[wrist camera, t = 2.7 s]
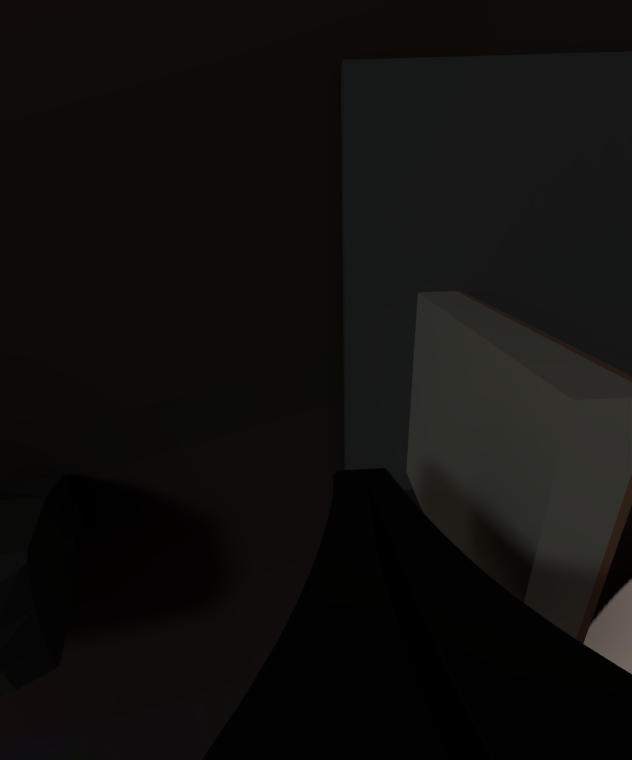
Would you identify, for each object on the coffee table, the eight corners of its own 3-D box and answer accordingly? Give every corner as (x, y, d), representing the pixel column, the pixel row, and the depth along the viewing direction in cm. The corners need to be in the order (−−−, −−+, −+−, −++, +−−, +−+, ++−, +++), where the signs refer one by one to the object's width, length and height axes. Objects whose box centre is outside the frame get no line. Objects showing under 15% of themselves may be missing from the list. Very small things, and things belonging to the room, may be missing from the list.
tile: (441, 469, 18) (565, 693, 10) (406, 471, 18) (500, 698, 10) (460, 290, 15) (670, 394, 6) (417, 292, 15) (573, 400, 6)
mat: (656, 466, 19) (667, 474, 19) (344, 485, 19) (346, 493, 18) (806, 52, 13) (830, 45, 12) (341, 66, 12) (342, 59, 12)
